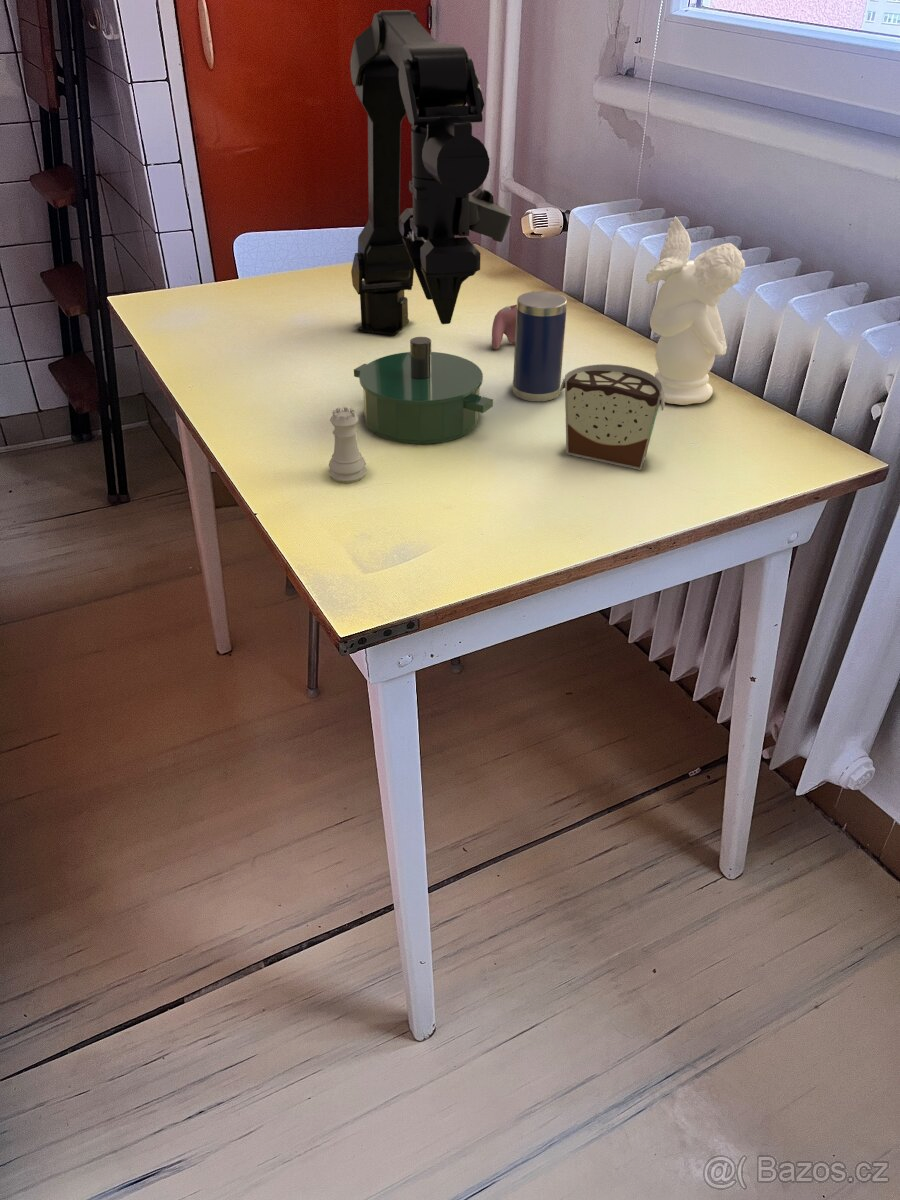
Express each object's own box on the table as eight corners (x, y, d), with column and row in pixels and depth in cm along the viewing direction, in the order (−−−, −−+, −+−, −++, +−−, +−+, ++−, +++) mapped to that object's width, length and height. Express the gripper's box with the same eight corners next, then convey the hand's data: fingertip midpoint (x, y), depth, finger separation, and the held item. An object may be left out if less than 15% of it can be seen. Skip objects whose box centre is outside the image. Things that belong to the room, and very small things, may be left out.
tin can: (507, 398, 127) (511, 304, 119) (519, 379, 132) (524, 288, 124) (553, 404, 125) (560, 310, 117) (564, 386, 130) (572, 294, 122)
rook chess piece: (337, 487, 107) (332, 423, 102) (323, 470, 110) (317, 407, 105) (373, 478, 108) (370, 415, 104) (358, 462, 112) (354, 400, 107)
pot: (455, 461, 112) (455, 418, 109) (326, 419, 121) (323, 379, 118) (516, 417, 122) (518, 377, 119) (393, 382, 131) (391, 344, 128)
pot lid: (437, 420, 110) (437, 375, 107) (334, 389, 117) (331, 346, 113) (505, 376, 120) (507, 334, 117) (407, 350, 127) (406, 310, 124)
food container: (666, 450, 115) (679, 373, 109) (653, 472, 110) (665, 393, 104) (571, 431, 119) (578, 355, 113) (554, 451, 114) (561, 374, 108)
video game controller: (555, 354, 143) (559, 306, 142) (556, 351, 139) (559, 302, 138) (491, 351, 144) (494, 304, 143) (490, 348, 139) (492, 300, 138)
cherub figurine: (731, 401, 126) (764, 232, 113) (658, 421, 121) (684, 246, 108) (672, 370, 135) (696, 209, 121) (602, 387, 130) (620, 222, 117)
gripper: (528, 190, 100) (521, 332, 109) (486, 155, 115) (483, 283, 124) (426, 194, 98) (427, 339, 107) (396, 159, 113) (400, 289, 122)
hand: (437, 311), depth 115 cm, fingers open, 9 cm apart
